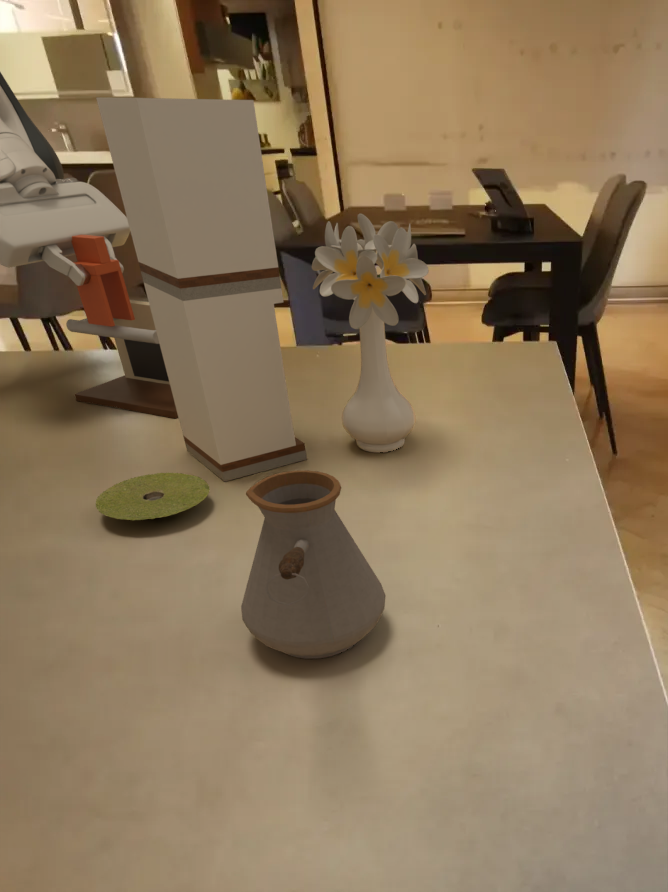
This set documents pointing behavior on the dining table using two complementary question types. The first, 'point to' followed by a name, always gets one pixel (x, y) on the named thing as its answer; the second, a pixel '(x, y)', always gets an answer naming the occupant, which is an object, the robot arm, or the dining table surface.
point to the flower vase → (372, 322)
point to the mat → (152, 496)
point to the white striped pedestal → (208, 272)
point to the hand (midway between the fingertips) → (102, 277)
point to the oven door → (132, 365)
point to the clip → (101, 282)
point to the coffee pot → (307, 570)
